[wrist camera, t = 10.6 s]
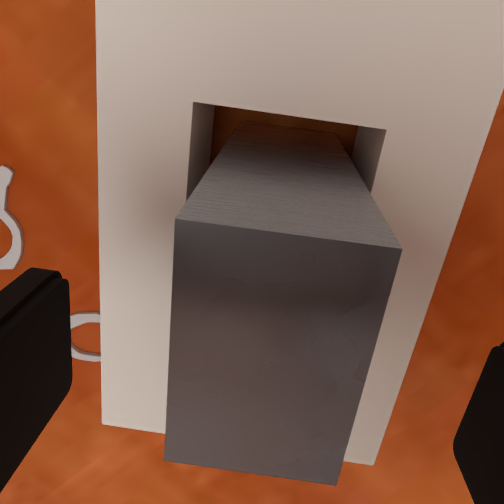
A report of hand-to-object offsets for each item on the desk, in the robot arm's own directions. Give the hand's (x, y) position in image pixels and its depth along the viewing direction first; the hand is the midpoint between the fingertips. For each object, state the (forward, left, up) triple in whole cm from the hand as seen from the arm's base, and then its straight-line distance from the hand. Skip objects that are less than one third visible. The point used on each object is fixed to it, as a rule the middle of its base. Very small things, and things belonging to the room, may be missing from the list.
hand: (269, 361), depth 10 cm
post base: (0, 0, -11) cm, 11 cm away
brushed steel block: (0, 0, -11) cm, 11 cm away
